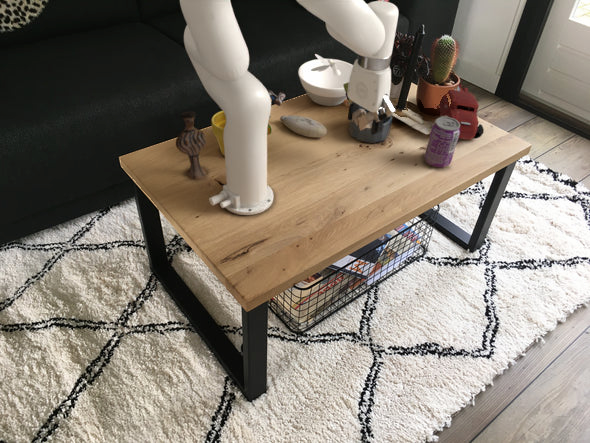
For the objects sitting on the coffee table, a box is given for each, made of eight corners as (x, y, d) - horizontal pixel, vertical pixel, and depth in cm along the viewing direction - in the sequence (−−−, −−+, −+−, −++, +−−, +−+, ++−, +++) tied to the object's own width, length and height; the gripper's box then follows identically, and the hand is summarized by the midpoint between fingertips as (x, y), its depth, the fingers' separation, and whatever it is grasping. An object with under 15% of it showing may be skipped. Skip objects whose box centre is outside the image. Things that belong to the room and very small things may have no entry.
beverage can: (448, 154, 138) (460, 116, 130) (451, 170, 133) (464, 131, 125) (422, 152, 139) (432, 114, 131) (425, 167, 134) (435, 129, 125)
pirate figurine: (220, 99, 132) (255, 63, 137) (227, 128, 143) (260, 93, 148) (262, 124, 128) (296, 86, 133) (266, 151, 140) (297, 115, 145)
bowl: (313, 76, 168) (315, 53, 163) (367, 92, 162) (371, 68, 157) (286, 102, 156) (287, 77, 150) (343, 120, 150) (346, 95, 144)
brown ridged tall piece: (182, 182, 125) (173, 119, 113) (178, 170, 129) (168, 108, 116) (211, 176, 127) (205, 114, 115) (206, 165, 131) (200, 103, 118)
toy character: (370, 132, 130) (358, 113, 131) (382, 119, 123) (369, 99, 123) (357, 138, 129) (345, 119, 130) (369, 126, 122) (356, 106, 122)
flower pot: (240, 135, 141) (239, 104, 134) (259, 154, 135) (259, 122, 128) (207, 146, 136) (204, 115, 130) (225, 166, 130) (223, 134, 124)
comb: (425, 139, 142) (444, 133, 148) (428, 131, 141) (447, 126, 147) (386, 116, 150) (405, 111, 156) (388, 108, 148) (408, 104, 155)
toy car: (463, 101, 162) (476, 72, 155) (483, 150, 141) (499, 119, 135) (419, 93, 161) (430, 64, 154) (433, 142, 140) (447, 110, 133)
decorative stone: (285, 117, 149) (285, 107, 147) (331, 133, 144) (332, 123, 142) (274, 127, 145) (274, 117, 143) (321, 143, 140) (322, 133, 138)
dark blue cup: (368, 148, 139) (372, 130, 135) (340, 130, 145) (342, 112, 141) (397, 135, 145) (400, 116, 141) (368, 117, 151) (371, 99, 147)
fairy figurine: (344, 68, 148) (335, 51, 151) (323, 70, 146) (314, 53, 149) (338, 83, 153) (330, 66, 156) (318, 85, 151) (310, 69, 154)
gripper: (336, 50, 118) (330, 115, 130) (390, 78, 109) (378, 146, 121) (359, 42, 122) (351, 106, 134) (413, 69, 112) (399, 135, 124)
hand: (364, 125), depth 127 cm, fingers closed on toy character, 7 cm apart
